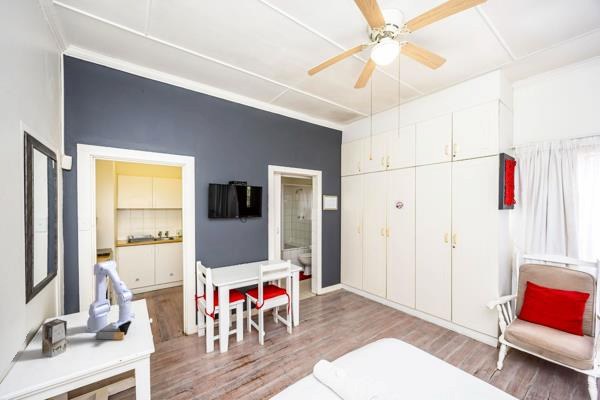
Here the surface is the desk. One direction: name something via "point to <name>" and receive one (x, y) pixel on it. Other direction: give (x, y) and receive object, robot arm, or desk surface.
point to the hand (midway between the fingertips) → (124, 334)
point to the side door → (110, 335)
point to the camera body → (109, 328)
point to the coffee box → (54, 337)
